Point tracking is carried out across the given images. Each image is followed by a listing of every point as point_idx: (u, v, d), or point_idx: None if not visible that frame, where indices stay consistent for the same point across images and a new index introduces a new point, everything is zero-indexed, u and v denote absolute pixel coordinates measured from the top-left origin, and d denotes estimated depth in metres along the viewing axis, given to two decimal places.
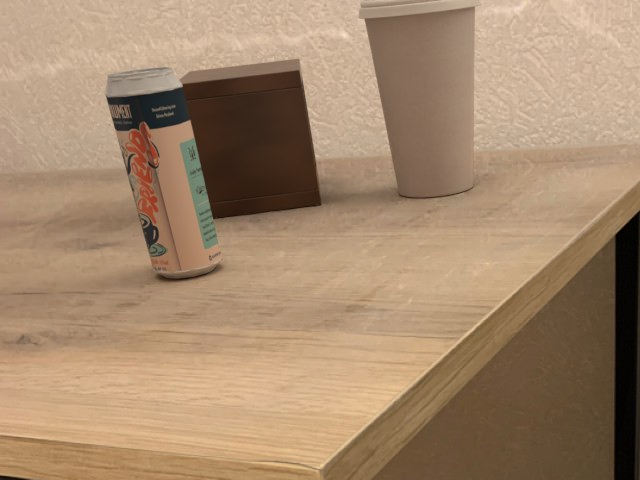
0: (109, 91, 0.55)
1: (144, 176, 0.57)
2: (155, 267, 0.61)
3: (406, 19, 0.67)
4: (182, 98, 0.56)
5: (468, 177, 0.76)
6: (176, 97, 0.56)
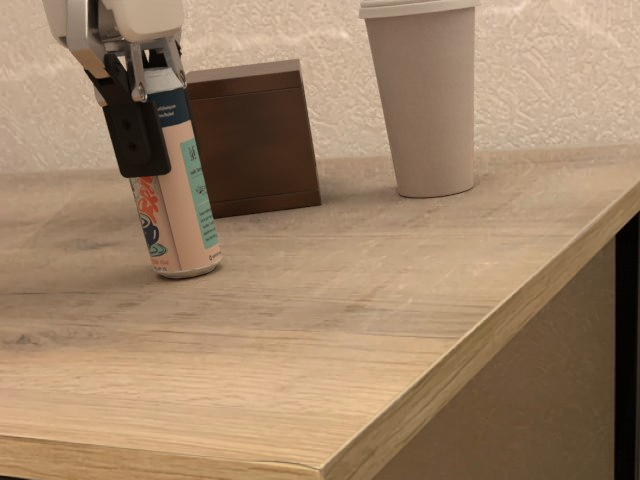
0: None
1: None
2: (155, 267, 0.61)
3: (406, 19, 0.67)
4: (182, 98, 0.56)
5: (468, 177, 0.76)
6: (176, 97, 0.56)
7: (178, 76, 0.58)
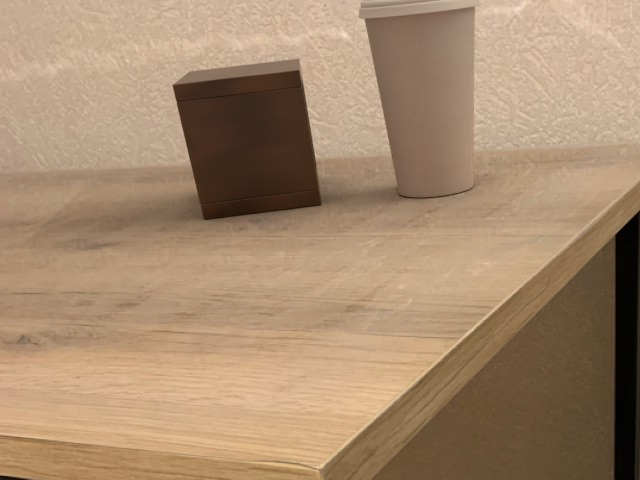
0: None
1: None
2: None
3: (406, 19, 0.67)
4: None
5: (468, 177, 0.76)
6: None
7: None
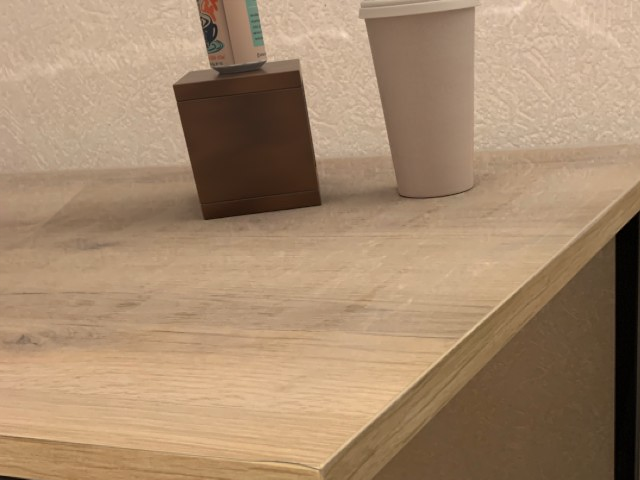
0: None
1: None
2: (213, 63, 0.74)
3: (406, 19, 0.67)
4: None
5: (468, 177, 0.76)
6: None
7: None
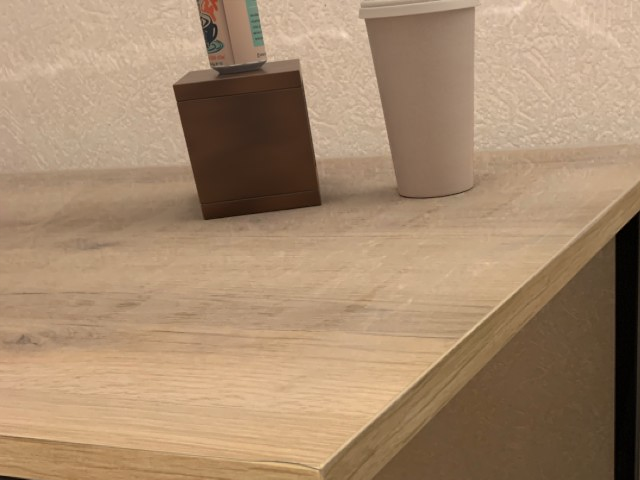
0: None
1: None
2: (213, 63, 0.74)
3: (406, 19, 0.67)
4: None
5: (468, 177, 0.76)
6: None
7: None
